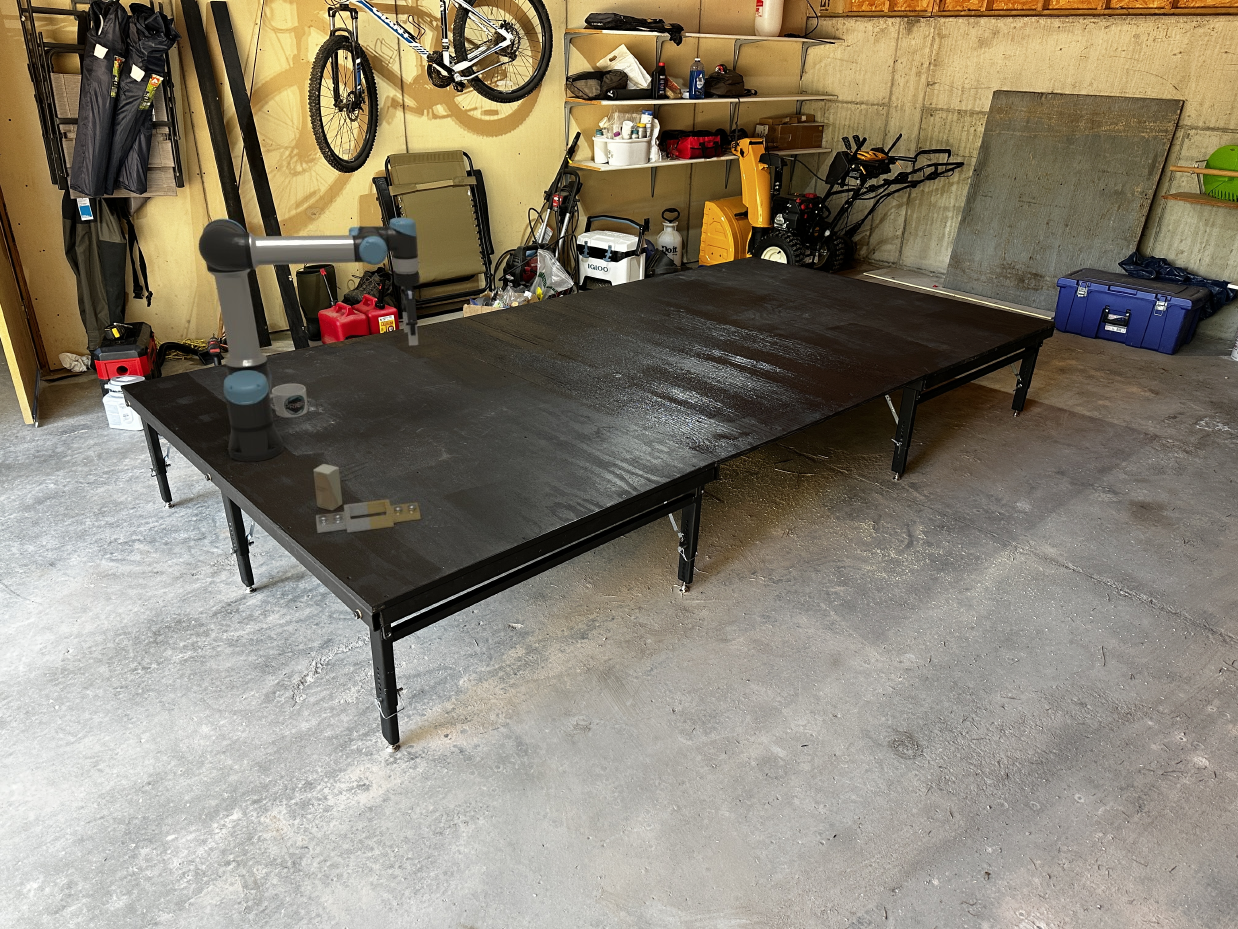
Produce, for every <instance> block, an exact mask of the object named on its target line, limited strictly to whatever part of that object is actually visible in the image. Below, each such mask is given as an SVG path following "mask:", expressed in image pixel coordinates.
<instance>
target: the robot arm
mask: <svg viewBox="0 0 1238 929" xmlns="http://www.w3.org/2000/svg"><path fill="white" fill-rule="evenodd" d="M418 249H419V248H418V233H417V226H416V222H415V220H414V219H412V218H409V217H394V218H392V219H390V220H389V225H384V226H381V225H379V226H378V225H377V226H368V225H367V226H362V225H358V226H351V227H349V229H348V235H347V234H343V235H342V234H339V235H337V234H334V235H327V234H326V235H275V236H272V235H271V236H270V235H269V236H268V235H267V236H262V235H261V236H256V235H254V233H252V232H247V231H246V230H245V228H243V226H242V224H240V223H238V221H234V220H232V219H229V218H217V219H214V220H212V221H210V222H208V223H207V224H206V225H205V226H204V228H203V231H202V233H201V236H200V237H199V240H198V251H199V252H198V253H199V254H200V256H201V259H202V260H204V261H205V264H206V270H207V272H208V273H210V275H212V276H213V277H214V280H215V286H216V290H217V296H218V302H219V307H220V312H221V313H220V314H221V318H222V324H223V329H224V332H225V333H224V334H225V339H226V344H227V350H228V357H227V358H226V360H225V361H224V362H225V367H226V374H227V376H226V377H225V379H224V380H223V394H224V397H225V401H226V408H227V413H228V419H229V424H230V435H229V441H228V446H227V448H228V449H227V450H228V455H230V456H229V457H230V458H231V459H232V458H233V459H232V460H234V459H235V461H239V462H244V461H245V462H248V463H249V462H260V461H261V462H262V461H266V460H270V459H272V458H275V457H277V456H278V455H280V454H281V453H283V451H284V449H285V447H284V442H283V439H282V436H281V435H280V433H279V431H278V429H277V428H276V426H275V424H274V423H275V422H274V417H273V410H272V409H273V408H272V407H271V405H272V403H271V398H270V395H271V394H272V386H273V385H272V384H273V377H272V373H271V371H270V366H269V364H268V357H267V356H266V355H264V354H263V353H262V351H261V349H260V348H261V347H260V342H259V337H258V336H259V335H258V332H257V324H256V318H255V313H254V306H253V301H252V296H251V291H250V290H251V289H250V284H249V278H248V273H249V272H250V271H251V270H256V269H257V268H258V267H259V266H271V265H273V266H275V265H313V264H315V265H316V264H343V263H344V264H345V263H347V264H348V263H357V264H358V263H360V264H361V263H365V264H368V265H370V266H378V265H379V266H380V265H381V264H382V263H383V262H385V260H386V258H388V257H387V256H388V253H392V256H391V257H392V268H393V269H392V270H393V271H394V272H393V279H394V280H393V282H394V284H395V285H396V286H398V287H400V294H401V295H400V297H401V305H400V307H401V310H402V321H403V333H404V334H405V333H407V335H408V338H407V339H408V346H418V345H419V335H418V318H417V317H418V316H417V308H416V291H415V290H414V288H413V286H417V285H419V284H420V272H419V269H420V267H419V264H420V263H421V260H420V259H419V258H418V257H419V254H418Z"/></svg>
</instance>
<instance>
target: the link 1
mask: <svg viewBox="0 0 1238 929" xmlns="http://www.w3.org/2000/svg"><path fill="white" fill-rule="evenodd" d="M367 502H368V501H364V502H355V503H349V504H348V503H347V504H343V511H340V512H332V513H323V514H316V515H315V522H316V532H317V533H318V534H321V533H329V532H336V531H341V530H343V531H345V530H346V533H350V534H351V533H355V532H362V531H364V532H365V531H370V530H372V529H371V527H370V518H369V517H370V516H369V517H367V515H369V514H368V510H367ZM363 515H366V517H360V518H351V517H357V516H363Z"/></svg>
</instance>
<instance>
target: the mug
mask: <svg viewBox="0 0 1238 929" xmlns="http://www.w3.org/2000/svg"><path fill="white" fill-rule="evenodd" d="M307 396H308V395H307V388H306V386H305V385H303V384H299V383H285V384H284V383H283V384H281V385H277V386H275V387H273V388H271V394H270V399H271V398H272V399H273V404H274V405H273V404H271V409H273V410H275V414H276V415H277V416H279V417H281V418H289V419H290V418H292V419H293V418H297V417H301V416H303V415H305V414H307V413H308V410H309V409H308V408H309V407H308V401H307V400H308V399H307Z"/></svg>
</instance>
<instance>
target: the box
mask: <svg viewBox="0 0 1238 929" xmlns="http://www.w3.org/2000/svg"><path fill="white" fill-rule="evenodd" d="M313 478H314V488H315V497H316V498H315V499H316V506H317V507H318V508H321V509H325V510H327V511H328V510H329V511H335V509H338V507H340V506H341V505H343V498H342V497H343V496H342V487H341V476H340V467H338V466H334V465H330V464H326V463H322V464H321V465H319V466H317V467H315V468H314V469H313Z"/></svg>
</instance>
